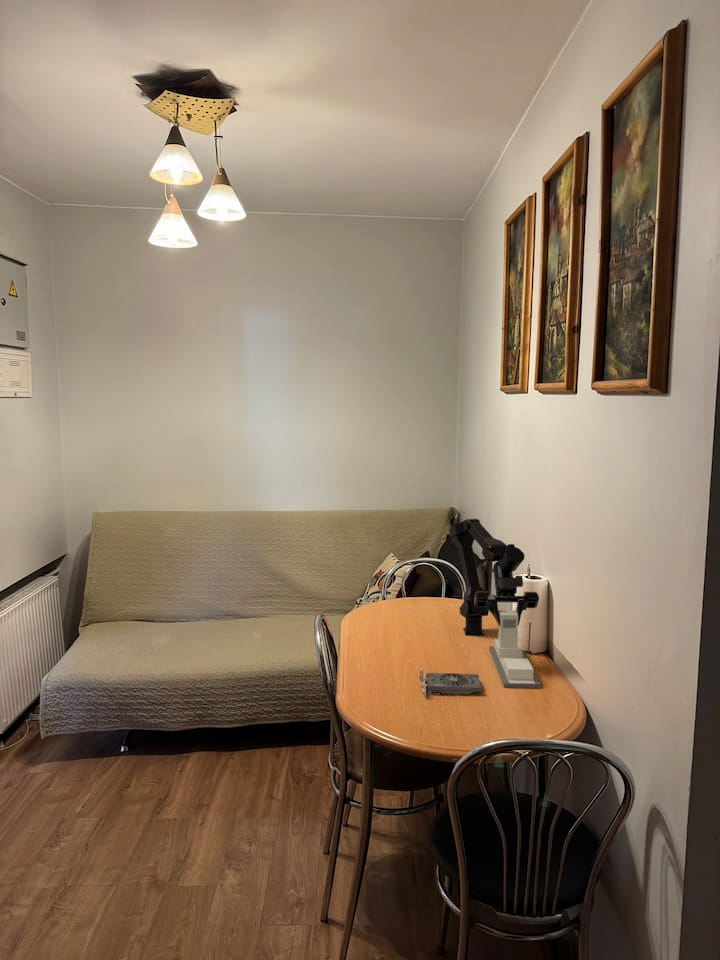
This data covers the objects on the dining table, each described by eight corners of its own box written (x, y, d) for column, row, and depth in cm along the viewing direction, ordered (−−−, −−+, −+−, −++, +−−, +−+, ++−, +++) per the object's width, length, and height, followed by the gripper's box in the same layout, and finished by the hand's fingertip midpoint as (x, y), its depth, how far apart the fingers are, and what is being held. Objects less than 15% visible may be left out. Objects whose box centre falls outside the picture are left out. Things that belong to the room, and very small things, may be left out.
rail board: (489, 649, 203) (489, 636, 202) (520, 650, 202) (520, 637, 202) (504, 687, 175) (504, 672, 174) (540, 688, 174) (540, 673, 174)
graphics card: (421, 688, 168) (419, 668, 180) (421, 701, 168) (419, 681, 180) (484, 690, 167) (478, 670, 179) (484, 703, 168) (478, 682, 180)
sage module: (498, 642, 190) (498, 610, 189) (514, 642, 190) (515, 610, 189) (500, 648, 185) (501, 615, 184) (517, 648, 185) (518, 615, 184)
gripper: (475, 565, 190) (479, 612, 180) (538, 565, 188) (545, 613, 179) (472, 583, 198) (476, 629, 189) (532, 584, 197) (539, 630, 187)
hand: (508, 625), depth 186 cm, fingers closed on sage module, 5 cm apart
